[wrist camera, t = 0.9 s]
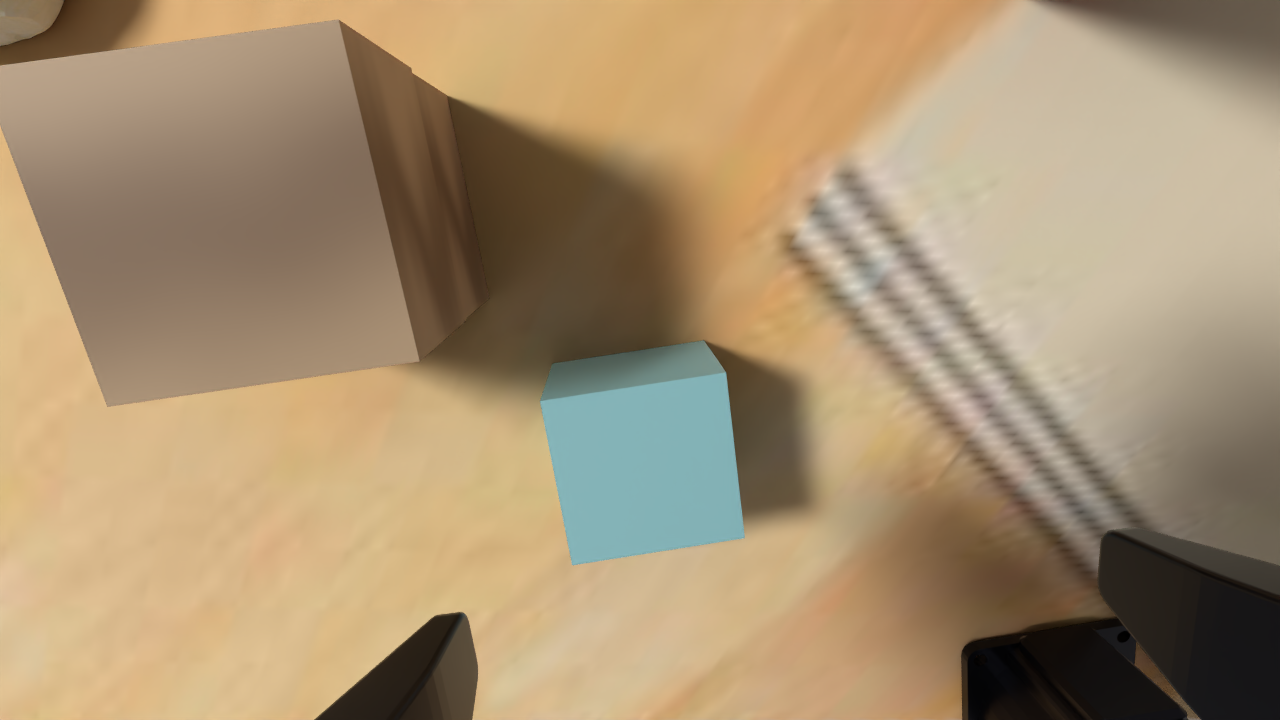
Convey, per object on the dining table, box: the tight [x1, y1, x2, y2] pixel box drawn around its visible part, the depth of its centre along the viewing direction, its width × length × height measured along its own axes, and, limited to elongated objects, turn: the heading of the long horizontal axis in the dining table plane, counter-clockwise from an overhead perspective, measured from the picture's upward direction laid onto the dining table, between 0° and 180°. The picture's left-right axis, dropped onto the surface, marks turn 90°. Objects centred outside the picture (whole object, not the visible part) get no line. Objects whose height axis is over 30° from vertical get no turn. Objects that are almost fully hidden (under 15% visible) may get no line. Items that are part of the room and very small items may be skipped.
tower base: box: [412, 73, 489, 319], centre depth 17 cm, size 6×6×4 cm
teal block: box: [540, 340, 745, 565], centre depth 19 cm, size 5×5×4 cm
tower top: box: [0, 20, 465, 407], centre depth 13 cm, size 6×6×4 cm
